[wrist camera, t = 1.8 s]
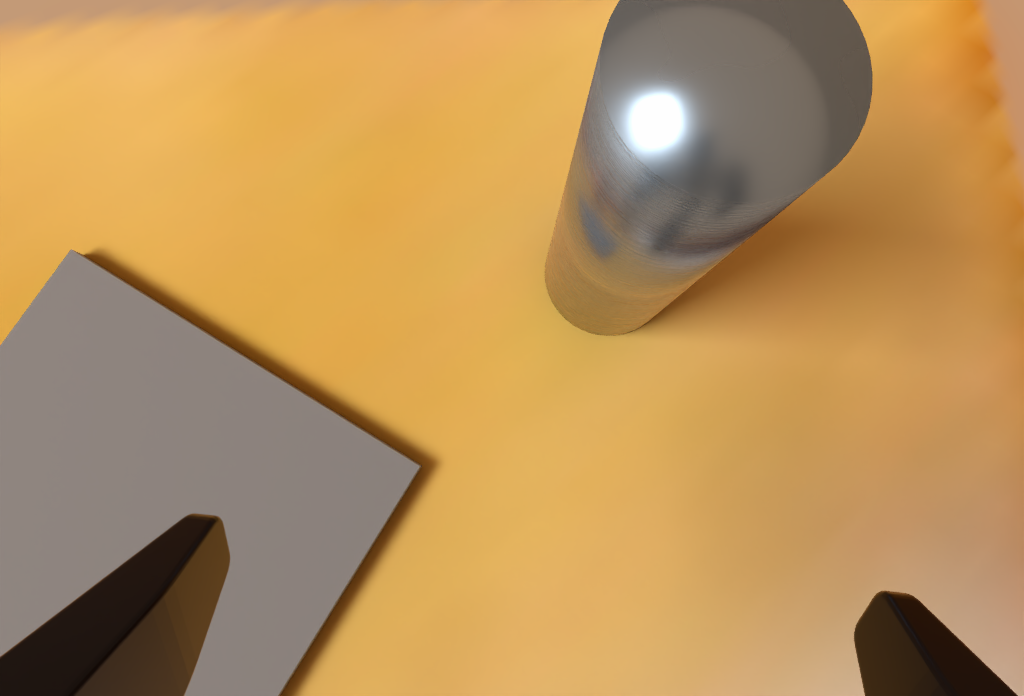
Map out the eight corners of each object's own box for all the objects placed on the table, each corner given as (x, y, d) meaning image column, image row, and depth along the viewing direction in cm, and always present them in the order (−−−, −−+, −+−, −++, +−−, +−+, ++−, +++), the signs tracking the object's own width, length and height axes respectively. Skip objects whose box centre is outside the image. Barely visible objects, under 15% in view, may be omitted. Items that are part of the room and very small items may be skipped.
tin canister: (691, 254, 24) (918, 29, 11) (630, 358, 23) (793, 253, 10) (585, 191, 24) (683, -99, 11) (521, 294, 23) (548, 111, 11)
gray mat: (422, 465, 23) (420, 466, 22) (178, 859, 21) (169, 871, 20) (81, 254, 23) (70, 249, 23) (-182, 614, 22) (-201, 619, 21)
